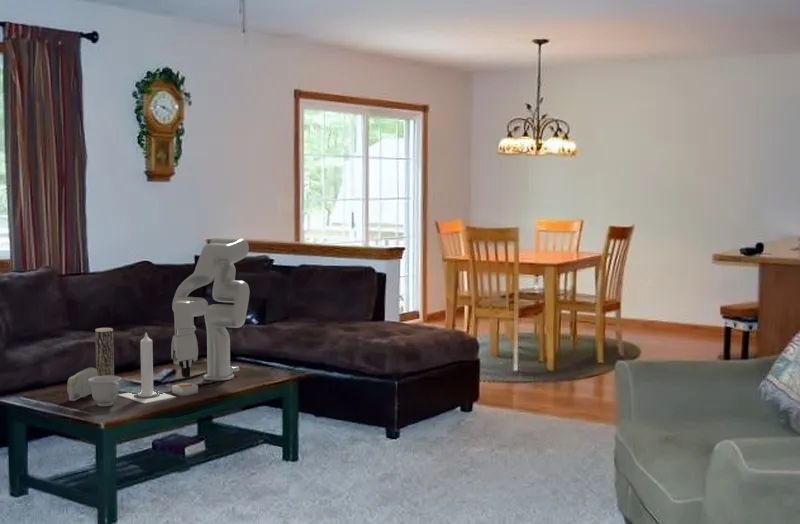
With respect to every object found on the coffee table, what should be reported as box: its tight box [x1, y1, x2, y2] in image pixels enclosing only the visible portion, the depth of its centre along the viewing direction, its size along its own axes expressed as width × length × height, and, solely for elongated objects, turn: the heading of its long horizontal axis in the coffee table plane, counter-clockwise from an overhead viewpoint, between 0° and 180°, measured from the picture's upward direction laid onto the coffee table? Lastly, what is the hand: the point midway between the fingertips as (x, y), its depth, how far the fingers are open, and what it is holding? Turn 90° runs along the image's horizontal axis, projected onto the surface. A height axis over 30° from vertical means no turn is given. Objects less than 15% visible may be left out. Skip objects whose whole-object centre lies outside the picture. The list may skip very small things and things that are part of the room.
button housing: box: [171, 383, 199, 397], centre depth 390 cm, size 7×7×3 cm
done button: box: [177, 382, 193, 388], centre depth 390 cm, size 4×4×2 cm
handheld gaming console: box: [66, 366, 98, 402], centre depth 382 cm, size 11×3×15 cm
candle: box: [138, 332, 157, 397], centre depth 383 cm, size 7×7×25 cm
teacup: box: [88, 375, 122, 407], centre depth 369 cm, size 12×15×10 cm
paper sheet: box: [117, 392, 177, 405], centre depth 384 cm, size 14×19×1 cm
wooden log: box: [94, 327, 115, 376], centre depth 392 cm, size 7×7×25 cm
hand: (186, 376), depth 390 cm, fingers closed
